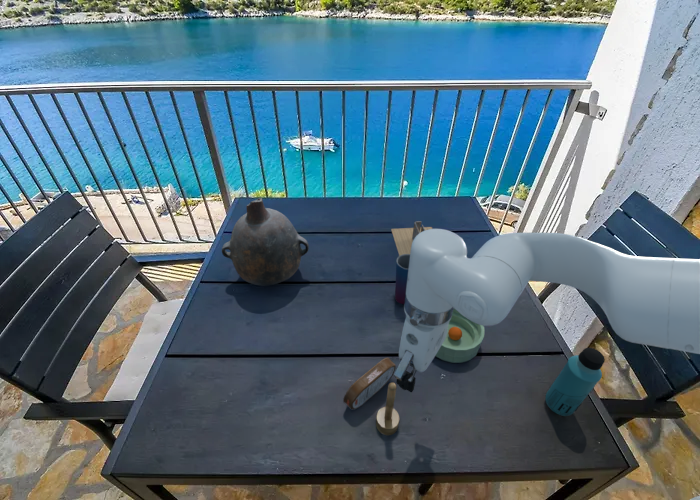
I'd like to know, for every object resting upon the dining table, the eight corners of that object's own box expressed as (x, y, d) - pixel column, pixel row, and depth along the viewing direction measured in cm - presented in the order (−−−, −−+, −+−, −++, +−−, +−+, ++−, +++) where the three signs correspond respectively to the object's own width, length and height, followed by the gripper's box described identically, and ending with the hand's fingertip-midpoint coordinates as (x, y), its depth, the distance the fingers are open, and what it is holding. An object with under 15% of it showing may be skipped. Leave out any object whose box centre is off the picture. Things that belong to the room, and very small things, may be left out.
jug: (290, 246, 129) (280, 171, 110) (318, 280, 114) (312, 200, 96) (224, 270, 118) (201, 191, 100) (246, 310, 104) (224, 228, 85)
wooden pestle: (399, 416, 79) (407, 376, 69) (396, 438, 76) (403, 399, 65) (378, 410, 80) (382, 370, 70) (373, 431, 77) (377, 392, 67)
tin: (387, 369, 89) (389, 349, 83) (396, 378, 87) (399, 358, 82) (342, 408, 81) (342, 388, 76) (351, 418, 79) (351, 399, 74)
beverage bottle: (548, 419, 79) (586, 369, 66) (537, 392, 84) (570, 340, 72) (577, 420, 79) (621, 370, 66) (564, 393, 84) (602, 341, 71)
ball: (458, 342, 92) (446, 334, 93) (456, 343, 95) (445, 335, 96) (465, 331, 93) (453, 323, 94) (463, 332, 96) (451, 325, 97)
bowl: (487, 334, 97) (492, 320, 94) (466, 374, 88) (471, 361, 84) (435, 309, 105) (439, 295, 101) (411, 344, 95) (413, 330, 91)
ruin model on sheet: (451, 268, 119) (456, 246, 113) (404, 271, 118) (407, 248, 112) (431, 226, 139) (435, 205, 133) (391, 228, 137) (393, 207, 131)
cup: (403, 309, 104) (409, 272, 95) (387, 297, 109) (391, 260, 99) (418, 299, 108) (425, 262, 98) (402, 287, 112) (407, 250, 103)
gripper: (426, 353, 47) (413, 416, 57) (472, 281, 58) (454, 345, 68) (379, 328, 51) (375, 391, 61) (431, 265, 61) (420, 328, 72)
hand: (417, 367), depth 65 cm, fingers open, 9 cm apart
